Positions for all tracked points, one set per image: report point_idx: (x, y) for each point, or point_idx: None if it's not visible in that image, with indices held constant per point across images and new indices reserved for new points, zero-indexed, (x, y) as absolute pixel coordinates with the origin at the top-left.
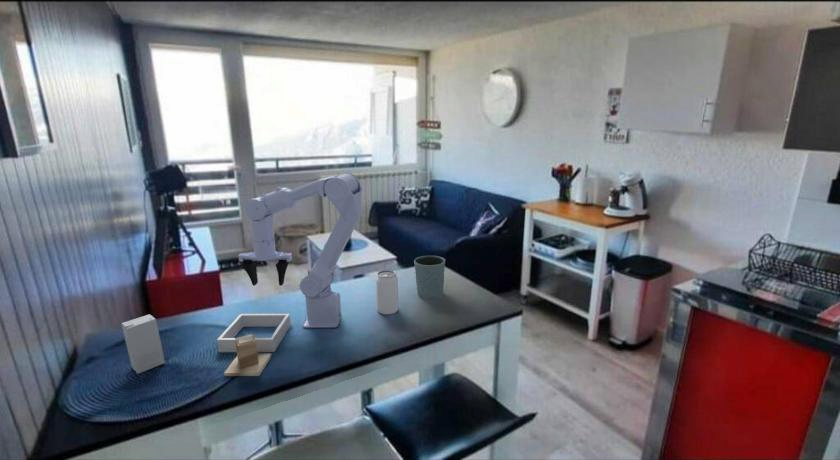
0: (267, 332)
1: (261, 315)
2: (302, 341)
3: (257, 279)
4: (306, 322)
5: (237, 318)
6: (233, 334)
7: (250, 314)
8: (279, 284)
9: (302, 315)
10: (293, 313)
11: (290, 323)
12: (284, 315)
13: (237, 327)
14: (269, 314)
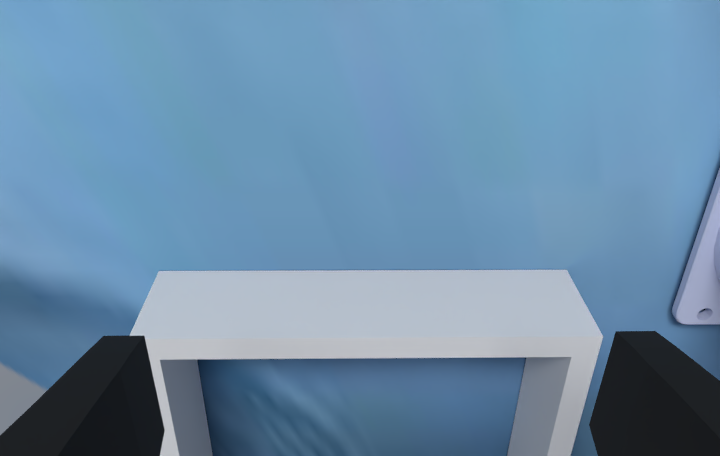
0: (410, 359)
1: (343, 356)
2: None
3: (120, 375)
4: (704, 271)
5: None
6: (201, 434)
7: (233, 348)
8: (602, 446)
9: (658, 105)
10: (564, 60)
11: (570, 281)
12: (555, 354)
13: (189, 397)
14: (414, 346)
